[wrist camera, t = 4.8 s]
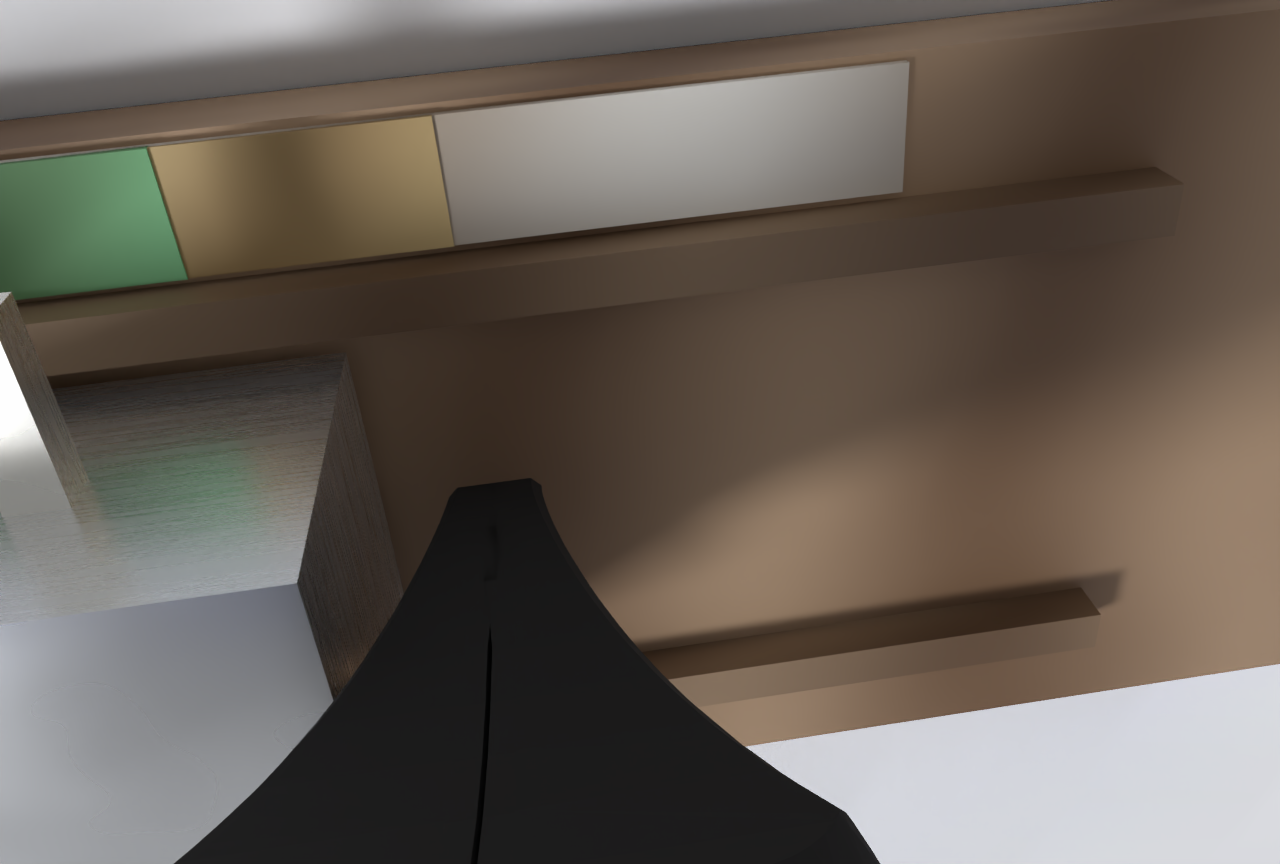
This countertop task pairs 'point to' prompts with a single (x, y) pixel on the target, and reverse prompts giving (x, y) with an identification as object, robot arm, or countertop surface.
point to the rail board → (760, 332)
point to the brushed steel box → (173, 593)
